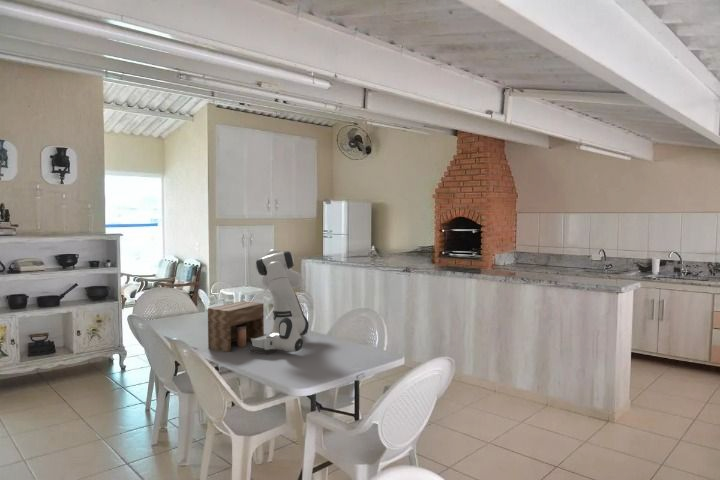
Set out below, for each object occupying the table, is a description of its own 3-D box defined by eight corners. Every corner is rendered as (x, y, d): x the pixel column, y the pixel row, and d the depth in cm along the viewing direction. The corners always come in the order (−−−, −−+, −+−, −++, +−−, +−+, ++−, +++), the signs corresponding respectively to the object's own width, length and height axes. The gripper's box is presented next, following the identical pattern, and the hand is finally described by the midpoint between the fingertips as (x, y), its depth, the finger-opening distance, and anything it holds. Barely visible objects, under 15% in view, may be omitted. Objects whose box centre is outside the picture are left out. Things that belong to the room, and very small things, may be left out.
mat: (281, 348, 288) (281, 348, 288) (266, 354, 277) (266, 353, 277) (264, 345, 294) (264, 345, 294) (250, 350, 284) (250, 350, 284)
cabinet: (263, 341, 305) (263, 303, 303) (228, 352, 281) (228, 311, 280) (243, 337, 313) (243, 300, 312) (208, 348, 289) (207, 308, 288)
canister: (245, 343, 298) (245, 325, 298) (247, 346, 294) (247, 327, 293) (236, 344, 296) (236, 325, 296) (238, 347, 291) (237, 327, 291)
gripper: (288, 331, 290) (270, 328, 297) (264, 338, 272) (244, 335, 279) (288, 342, 290) (270, 339, 297) (264, 350, 273) (244, 347, 280)
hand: (257, 337), depth 288 cm, fingers open, 8 cm apart
